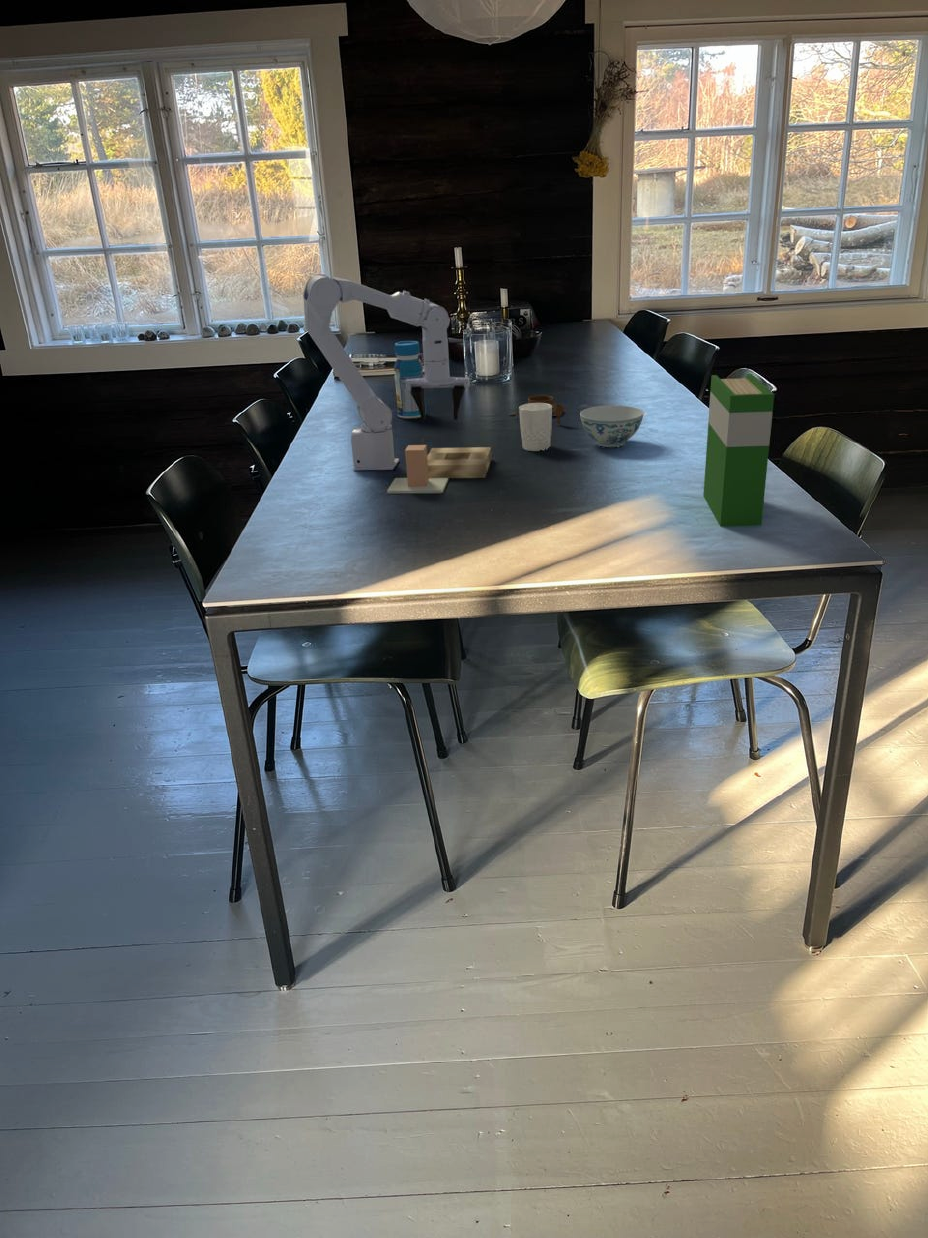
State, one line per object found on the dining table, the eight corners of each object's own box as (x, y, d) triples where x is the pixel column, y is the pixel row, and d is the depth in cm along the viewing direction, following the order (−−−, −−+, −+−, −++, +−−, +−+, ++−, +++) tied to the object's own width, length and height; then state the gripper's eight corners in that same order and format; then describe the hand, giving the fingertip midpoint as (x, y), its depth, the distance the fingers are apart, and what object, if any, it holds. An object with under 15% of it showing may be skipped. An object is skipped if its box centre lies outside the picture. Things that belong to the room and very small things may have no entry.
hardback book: (703, 495, 184) (711, 375, 174) (740, 494, 184) (751, 373, 173) (720, 526, 168) (730, 395, 158) (761, 525, 168) (774, 394, 157)
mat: (387, 493, 196) (386, 490, 195) (395, 480, 204) (395, 477, 203) (442, 493, 194) (442, 490, 194) (448, 480, 202) (448, 477, 202)
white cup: (526, 453, 218) (525, 411, 214) (515, 445, 225) (514, 404, 220) (557, 449, 220) (557, 408, 215) (545, 441, 227) (545, 401, 222)
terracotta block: (407, 486, 197) (404, 450, 194) (411, 480, 201) (408, 445, 197) (426, 486, 197) (423, 449, 193) (428, 480, 200) (426, 444, 197)
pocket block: (422, 478, 204) (422, 465, 203) (432, 460, 217) (431, 447, 215) (485, 477, 202) (484, 464, 201) (491, 459, 215) (490, 447, 213)
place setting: (576, 410, 256) (576, 389, 254) (565, 428, 239) (565, 406, 237) (514, 410, 261) (514, 389, 258) (499, 427, 243) (499, 405, 241)
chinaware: (641, 453, 214) (642, 420, 210) (577, 452, 217) (577, 420, 213) (643, 436, 227) (644, 405, 223) (582, 436, 230) (582, 405, 226)
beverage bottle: (414, 420, 253) (408, 346, 244) (391, 417, 258) (384, 344, 249) (433, 413, 259) (428, 341, 250) (410, 410, 264) (405, 339, 255)
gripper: (401, 363, 205) (406, 423, 211) (465, 361, 203) (468, 422, 209) (407, 357, 212) (411, 416, 218) (469, 356, 210) (472, 414, 216)
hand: (439, 418), depth 214 cm, fingers open, 7 cm apart
